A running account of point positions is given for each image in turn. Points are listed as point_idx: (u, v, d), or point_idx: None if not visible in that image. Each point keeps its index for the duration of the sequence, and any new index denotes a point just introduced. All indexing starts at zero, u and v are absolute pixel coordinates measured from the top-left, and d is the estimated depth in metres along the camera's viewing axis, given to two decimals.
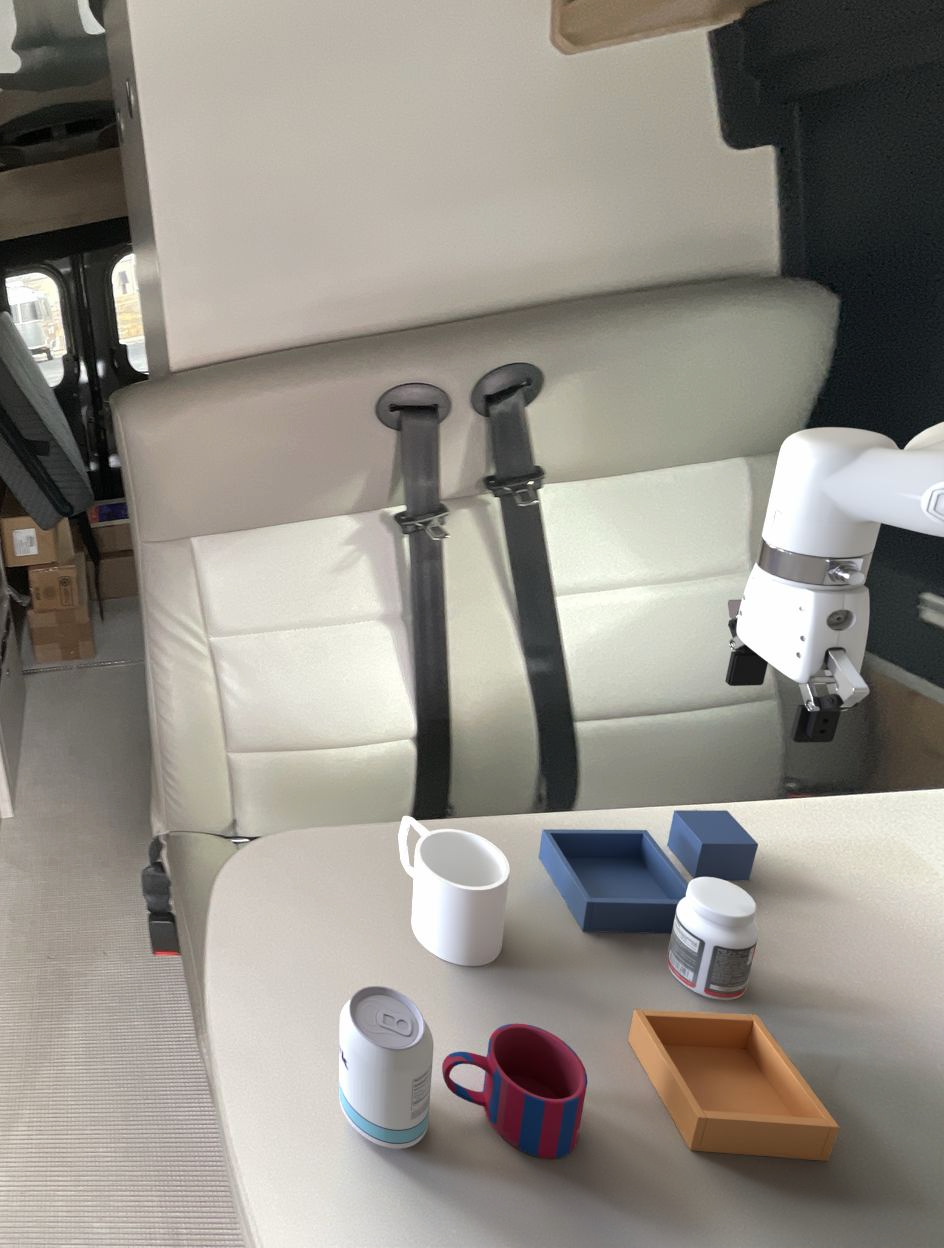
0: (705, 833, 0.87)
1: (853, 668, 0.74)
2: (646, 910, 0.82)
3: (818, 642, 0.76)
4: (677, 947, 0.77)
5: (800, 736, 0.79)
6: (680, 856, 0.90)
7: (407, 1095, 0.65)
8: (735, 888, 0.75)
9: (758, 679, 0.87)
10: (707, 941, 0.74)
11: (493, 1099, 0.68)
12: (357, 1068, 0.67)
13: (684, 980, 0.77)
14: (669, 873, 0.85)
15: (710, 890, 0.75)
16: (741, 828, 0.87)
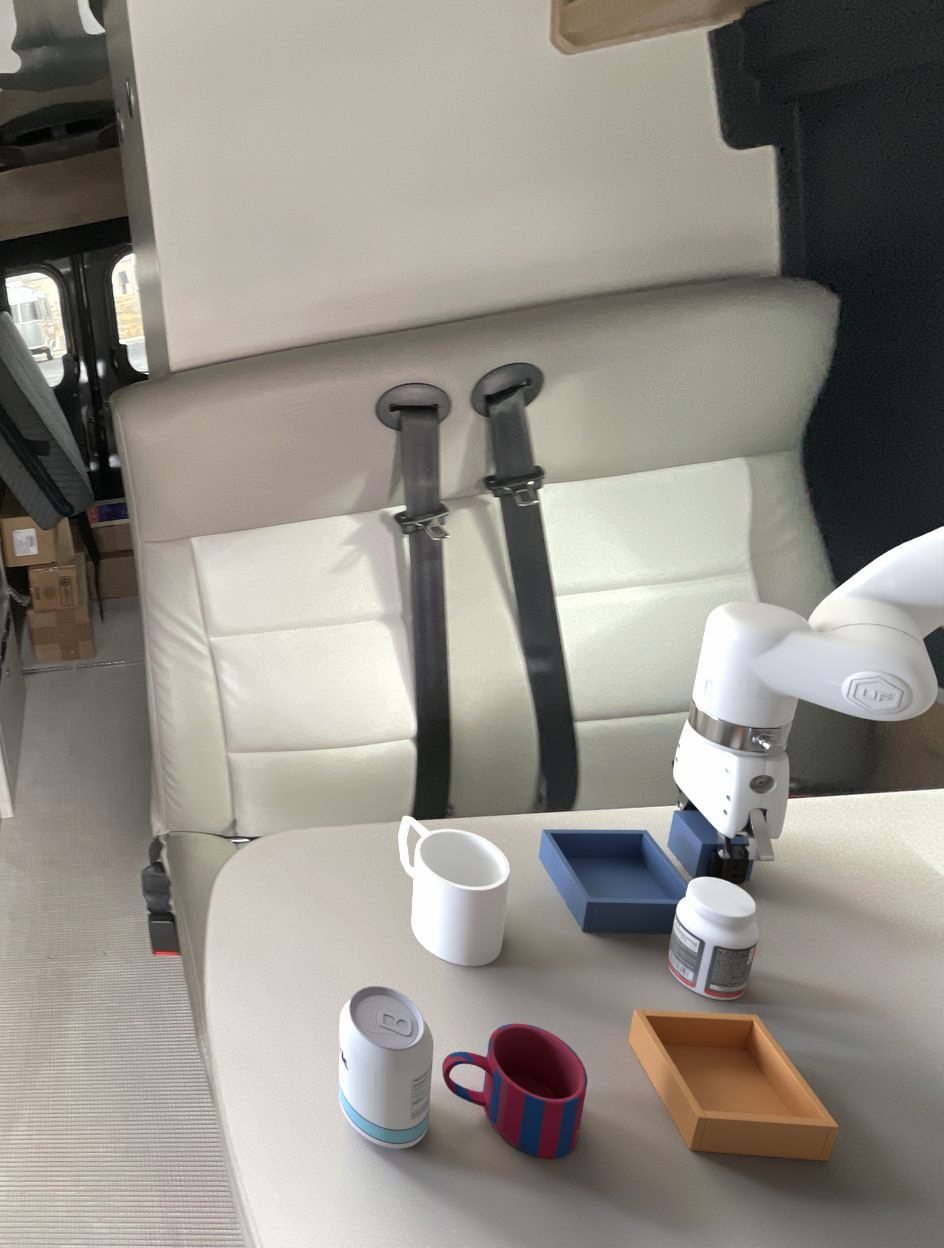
0: (705, 833, 0.87)
1: (766, 835, 0.80)
2: (646, 910, 0.82)
3: (742, 803, 0.81)
4: (677, 947, 0.77)
5: None
6: (680, 856, 0.90)
7: (407, 1095, 0.65)
8: (735, 888, 0.75)
9: None
10: (707, 941, 0.74)
11: (493, 1099, 0.68)
12: (357, 1068, 0.67)
13: (684, 980, 0.77)
14: (669, 873, 0.85)
15: (710, 890, 0.75)
16: None
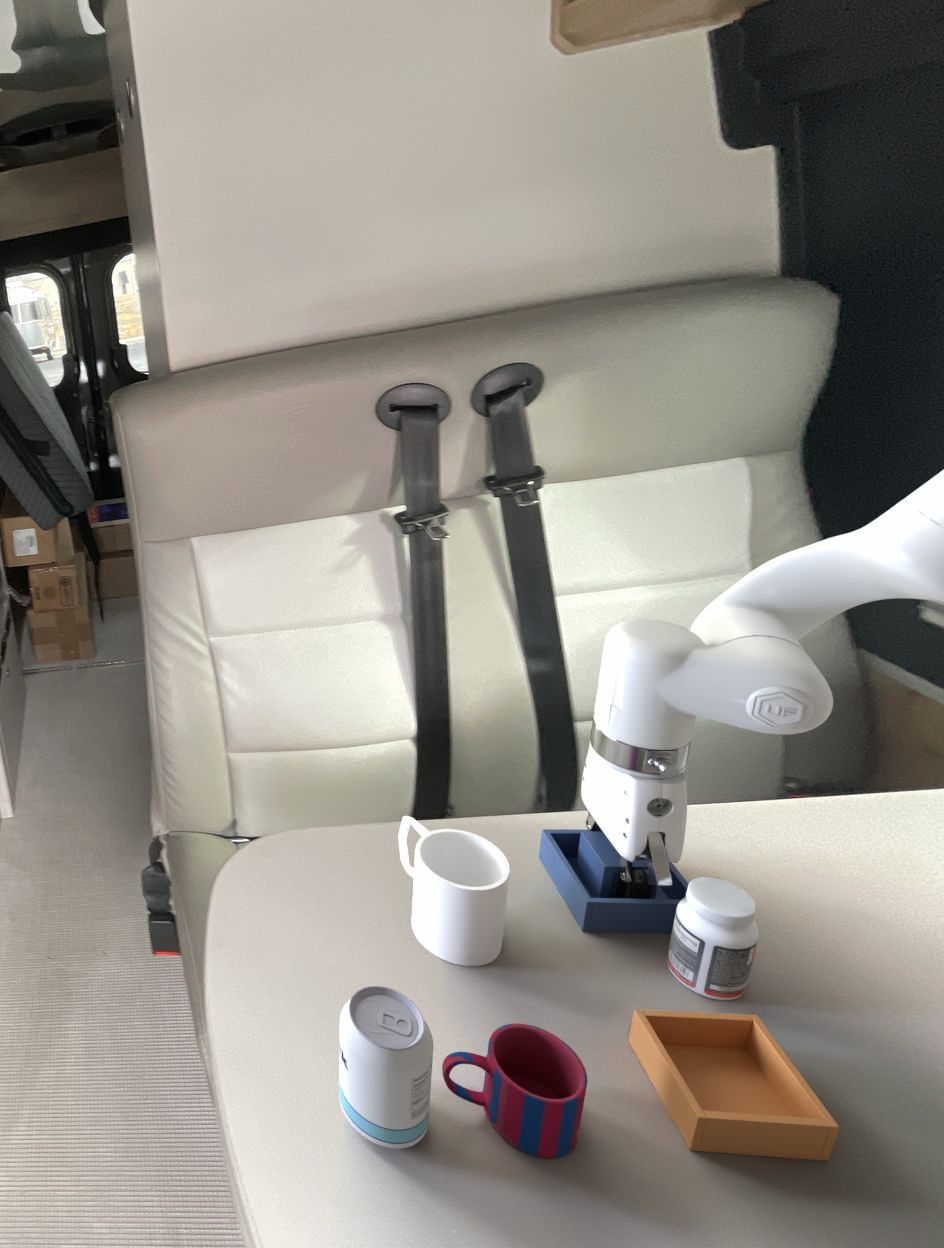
0: (609, 856, 0.85)
1: (665, 859, 0.78)
2: (646, 910, 0.82)
3: (641, 826, 0.79)
4: (677, 947, 0.77)
5: None
6: (586, 878, 0.88)
7: (407, 1095, 0.65)
8: (735, 888, 0.75)
9: None
10: (707, 941, 0.74)
11: (493, 1099, 0.68)
12: (357, 1068, 0.67)
13: (684, 980, 0.77)
14: None
15: (710, 890, 0.75)
16: None
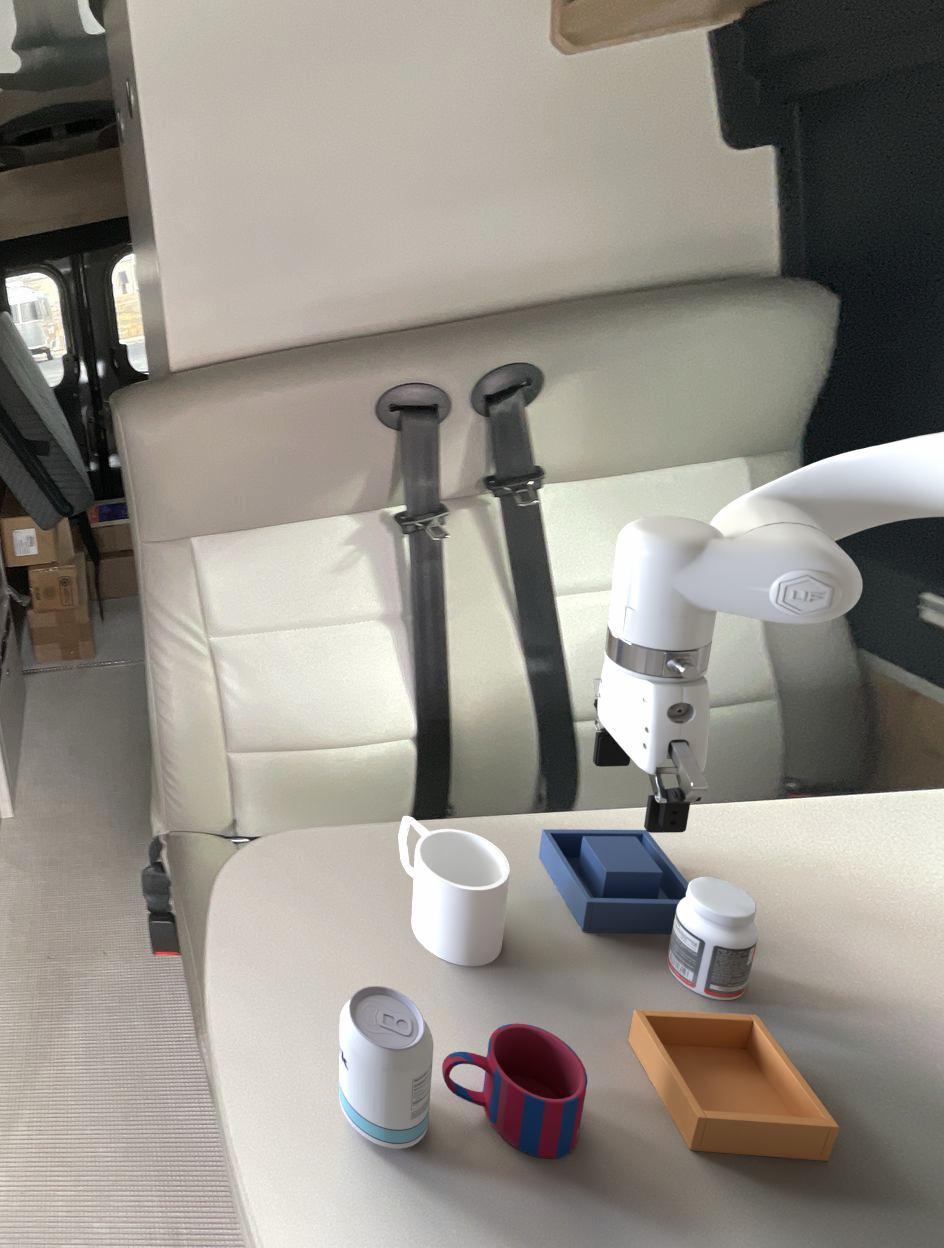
0: (611, 861, 0.85)
1: (694, 762, 0.73)
2: (646, 910, 0.82)
3: (661, 734, 0.75)
4: (677, 947, 0.77)
5: (653, 826, 0.78)
6: (588, 883, 0.88)
7: (407, 1095, 0.65)
8: (735, 888, 0.75)
9: (624, 760, 0.86)
10: (707, 941, 0.74)
11: (493, 1099, 0.68)
12: (357, 1068, 0.67)
13: (684, 980, 0.77)
14: (669, 873, 0.85)
15: (710, 890, 0.75)
16: (648, 855, 0.85)
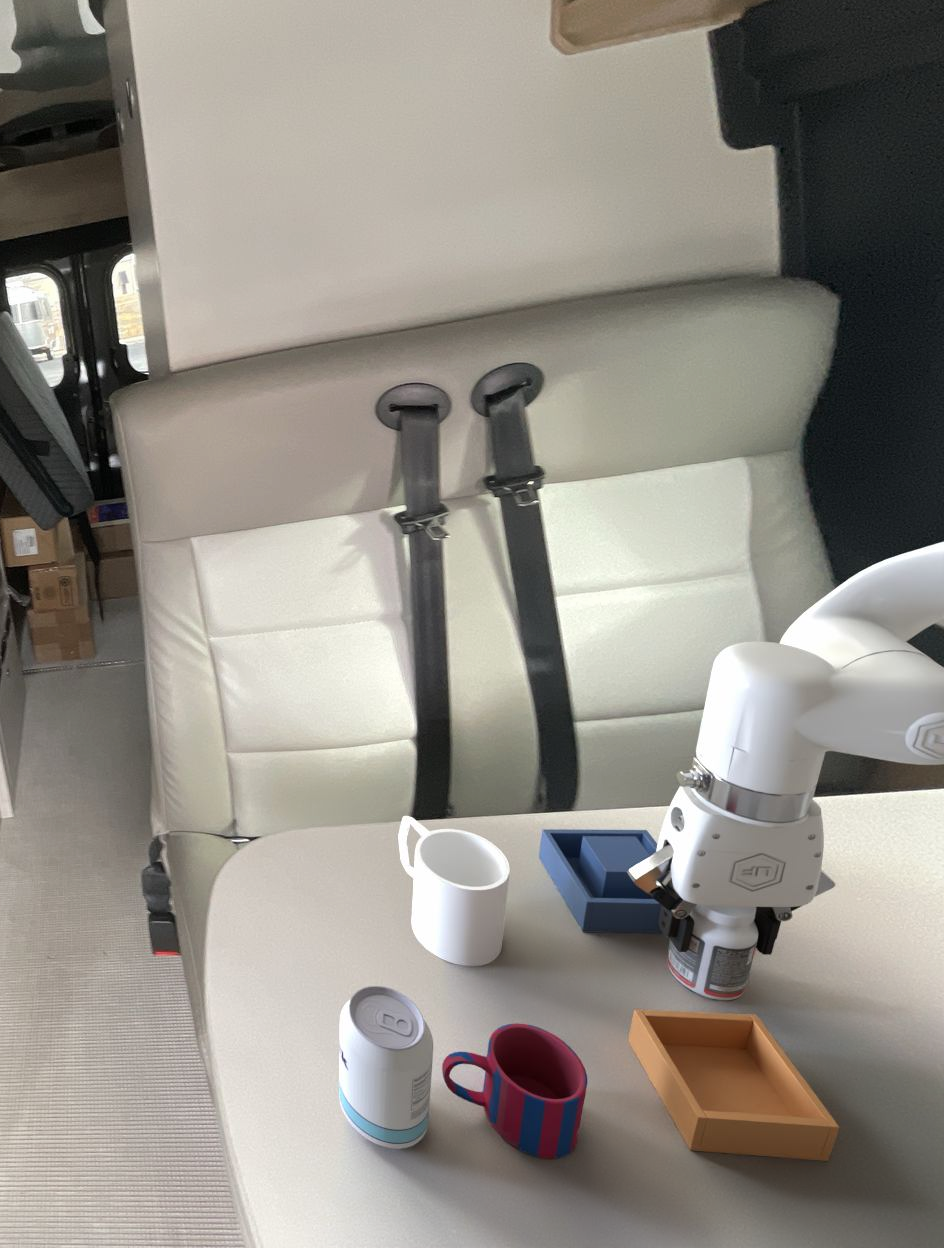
0: (611, 861, 0.85)
1: (653, 866, 0.74)
2: (646, 910, 0.82)
3: None
4: None
5: None
6: (588, 883, 0.88)
7: (407, 1095, 0.65)
8: None
9: (758, 943, 0.74)
10: (707, 941, 0.74)
11: (493, 1099, 0.68)
12: (357, 1068, 0.67)
13: (683, 980, 0.77)
14: None
15: None
16: (648, 855, 0.85)
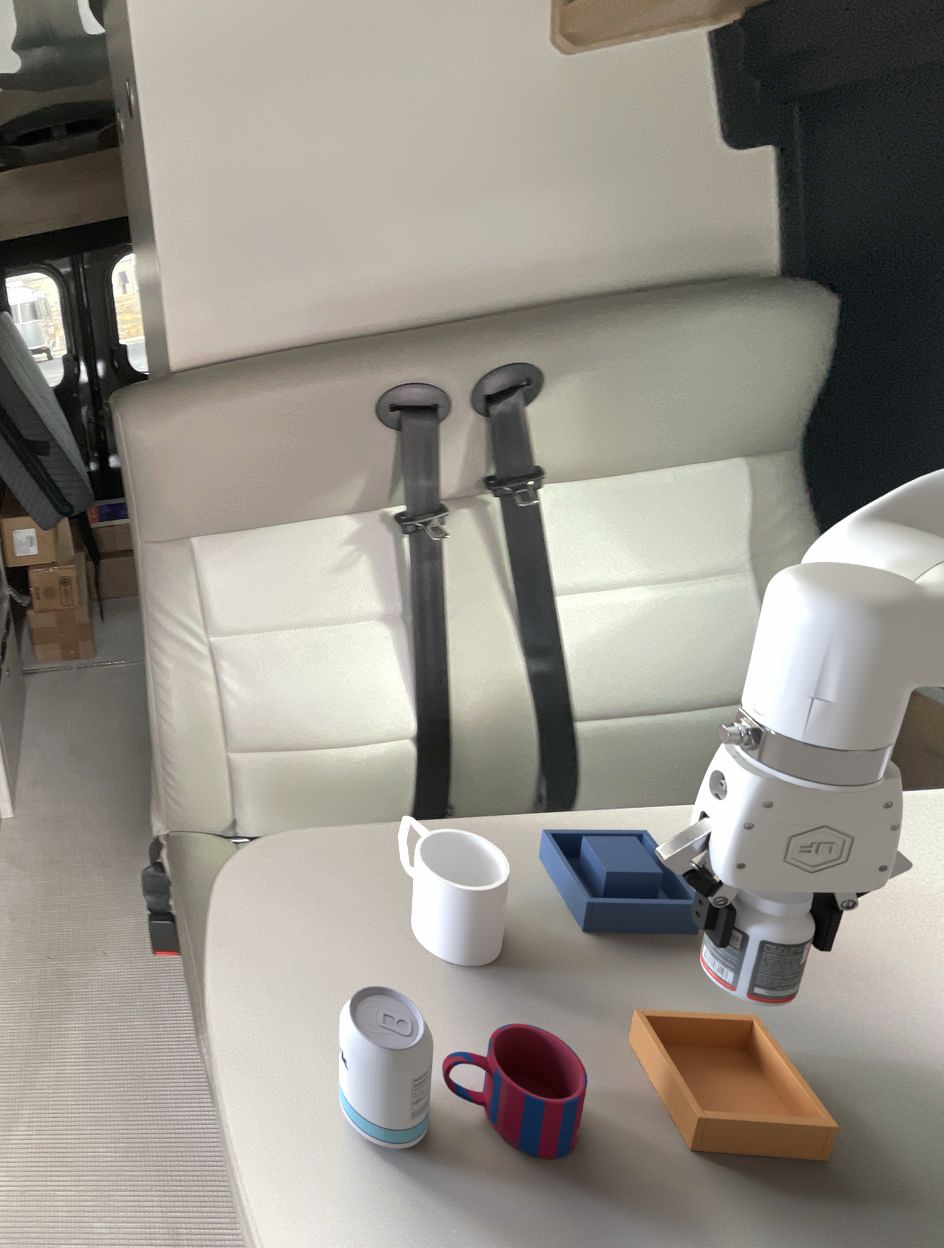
0: (611, 861, 0.85)
1: (687, 843, 0.60)
2: (646, 910, 0.82)
3: (703, 799, 0.61)
4: None
5: None
6: (588, 883, 0.88)
7: (407, 1095, 0.65)
8: None
9: (814, 938, 0.61)
10: (753, 935, 0.61)
11: (493, 1099, 0.68)
12: (357, 1068, 0.67)
13: (721, 982, 0.64)
14: (669, 873, 0.85)
15: None
16: (648, 855, 0.85)
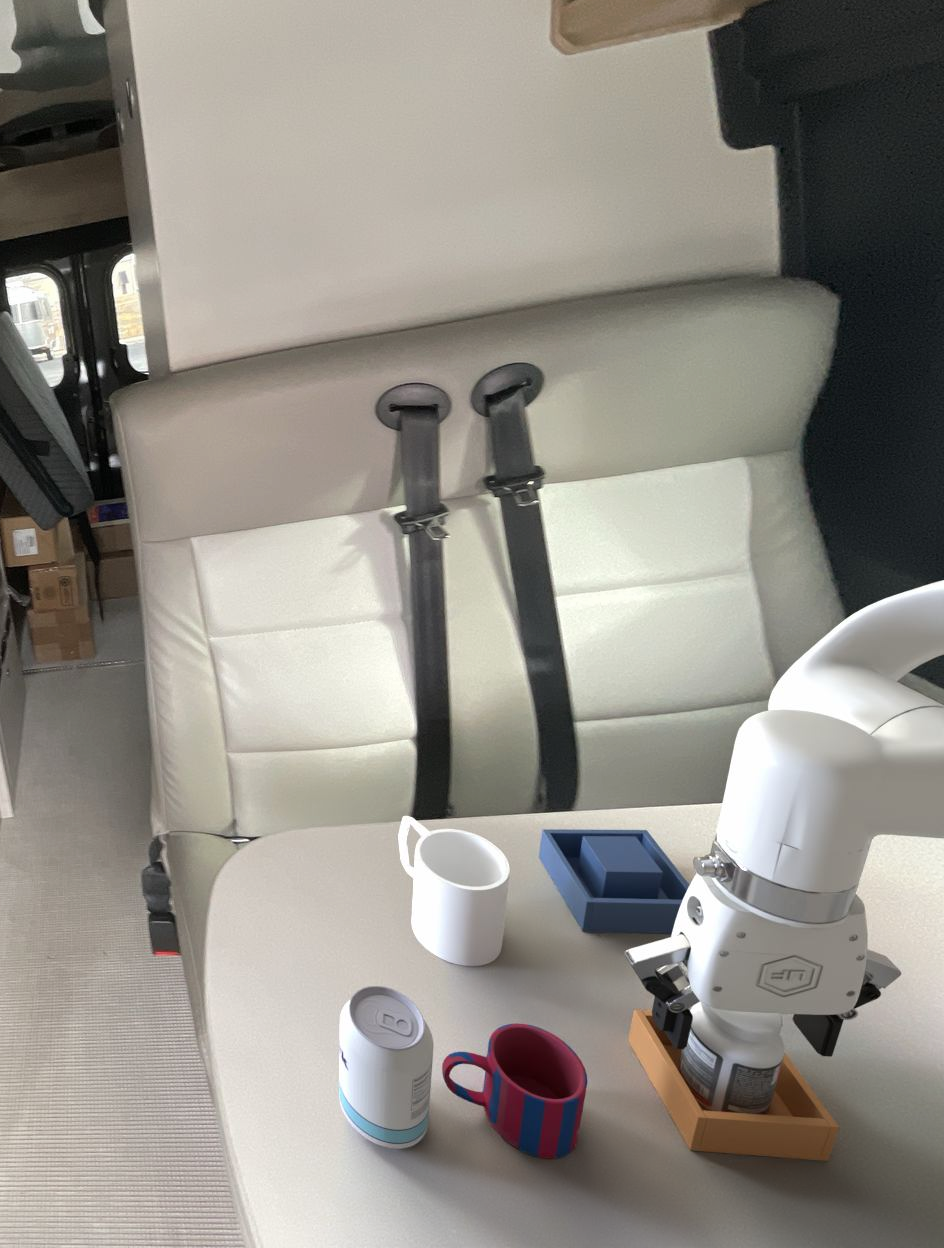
0: (611, 861, 0.85)
1: (661, 952, 0.64)
2: (646, 910, 0.82)
3: (682, 920, 0.64)
4: (690, 1059, 0.68)
5: None
6: (588, 883, 0.88)
7: (407, 1095, 0.65)
8: None
9: (816, 1042, 0.64)
10: (726, 1058, 0.64)
11: (493, 1099, 0.68)
12: (357, 1068, 0.67)
13: (698, 1097, 0.67)
14: (669, 873, 0.85)
15: None
16: (648, 855, 0.85)
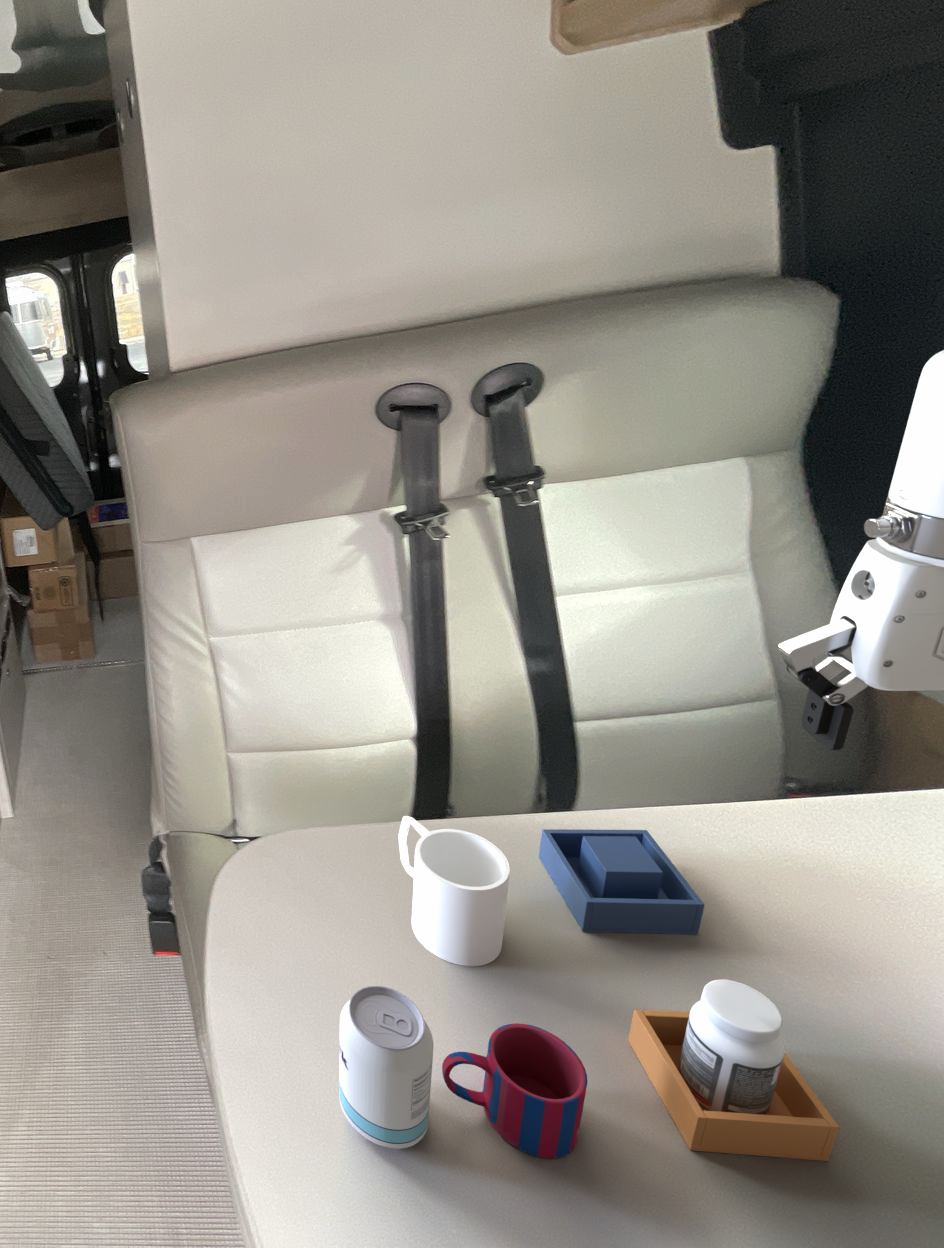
0: (611, 861, 0.85)
1: (822, 637, 0.60)
2: (646, 910, 0.82)
3: (843, 605, 0.60)
4: (690, 1059, 0.68)
5: None
6: (588, 883, 0.88)
7: (407, 1095, 0.65)
8: (757, 995, 0.65)
9: None
10: (726, 1058, 0.64)
11: (493, 1099, 0.68)
12: (357, 1068, 0.67)
13: (698, 1097, 0.67)
14: (669, 873, 0.85)
15: (728, 997, 0.66)
16: (648, 855, 0.85)
